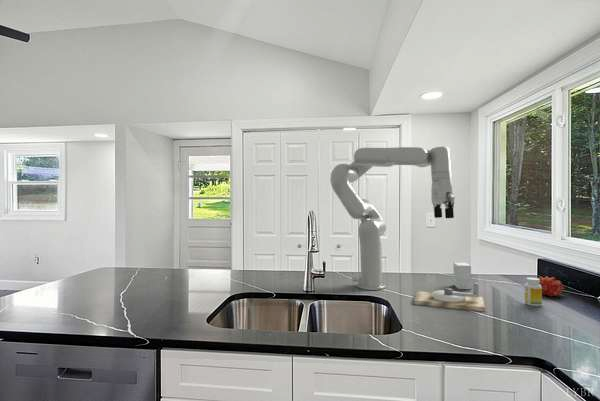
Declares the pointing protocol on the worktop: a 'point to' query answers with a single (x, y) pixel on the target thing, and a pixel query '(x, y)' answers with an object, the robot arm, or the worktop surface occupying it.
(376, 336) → the worktop surface
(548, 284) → the dragon fruit
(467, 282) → the small box
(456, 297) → the dial
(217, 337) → the worktop surface
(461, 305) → the stand base
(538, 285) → the supplement bottle
